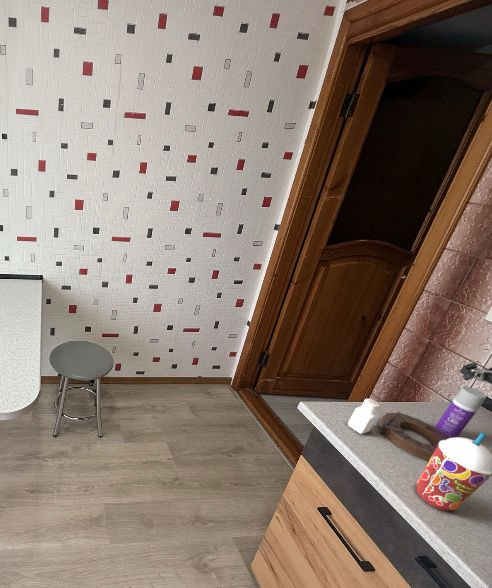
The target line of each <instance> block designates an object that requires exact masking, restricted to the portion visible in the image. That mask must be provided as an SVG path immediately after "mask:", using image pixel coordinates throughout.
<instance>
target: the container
mask: <svg viewBox="0 0 492 588" xmlns="http://www.w3.org/2000/svg"><path fill="white" fill-rule="evenodd" d="M486 399H487V395H486V393H484V392H483V391H481V390H478V389H476V388H473V387H470V386H463V387H461V389H460V390H459V392H458V393H457V394H456V396H455V397H454V398H453V400H452V401H451V403H450V404H449V405H448V407H447V408H446V409H445V411H444V413H443V414H442V415H441V417H440V418H439V420H438V421H437V423H436V424H435V426H434V427H435V428H437V429H438V430H440V431H441V432H443V433H444V434H445V435H447V436H448V437H449V438H455V437H460V435H461V434H462V433H463V431H464V429H465V428H466V427H467V426H468V424H469V423H470V422H471V420H472V419H473V418H474V416H475V415H476V414H477V412H478V410H479V409H480V408H481V406H482V405H483V403H484V402H485V400H486Z"/></svg>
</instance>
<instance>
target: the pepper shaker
mask: <svg viewBox="0 0 492 588" xmlns="http://www.w3.org/2000/svg"><path fill="white" fill-rule="evenodd" d="M380 406H381V405H380V403H379V402H377V401H376V400H374V399H371V398H365V399H364V401H363V403H362V405H361V406H357V407H356V408H355V409H354V411H353V413H352V415H351V417H350V419H349V421H348V422H347V426H349V427H350V428H351V429H353V430H354V431H356V432H357V433H358V434H361V435H362V434H366V433H369V432H370V431H371V430H372V428H373V426H374V425H375V423H376V421H377V419H378V417H379V415H378V414H377V413H376V412H377V411H378V410H379V408H380Z"/></svg>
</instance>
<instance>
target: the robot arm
mask: <svg viewBox="0 0 492 588" xmlns="http://www.w3.org/2000/svg"><path fill="white" fill-rule="evenodd" d="M478 366H479V364H477V363H474V362H472V363H471V362H470V363H468V364H464V365H463V366H462V368H461V369H460V371H459V373H460V374H462V378H463V380H464V381H471V380H472V379H475V380H476V381H478V382H481V383H482V382H483V383H487V384H489V385H491V386H492V366H491V367H489V368H488V369H487V368H480V367H478Z"/></svg>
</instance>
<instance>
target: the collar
mask: <svg viewBox="0 0 492 588" xmlns="http://www.w3.org/2000/svg"><path fill="white" fill-rule="evenodd" d="M378 425H379V429H380V432H379V433H380V434H382V435H383V436H385V437H386V438H387V439H388V440H390V441H391V442H392V443H393V444H395V446H397V447H398V448H400V449H402V450H404V451H405V452H407V453H408V454H410V455H412V456H414V457H416V458H420V459H423V460H425V461H426V462H427V461H428V462H429V460H430V459H431V457H432V455H433V453H434V452H435V450H436V448H437V446H438V445H439V442H440V441H441V440H446V439H449V437H448V436H447V435H445V434H444V433H443V432H441V431H440V430H438V429H437V428H435V426H434V425H431V424H430V423H427V422H426V421H423V420H421V419H420V418H417V417H414V416H411V415H408V414H405V413H402V412H400V411H397V412H394V411H393V412H386V413H385V414H384V415H383V416H382V417H381V419H380V420H379V422H378ZM403 429H404V430H409V431H411V432H413V433H416V434H418V435H419V436H421V437H423V438H424V439H426V440H427V441H428V442H429V443H430V444H429V443H425V442H422V441H420V440H418V439H416V438H414V437H412V436H411V435H410V434H408V433H407V432H405V431H404V430H403Z"/></svg>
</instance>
